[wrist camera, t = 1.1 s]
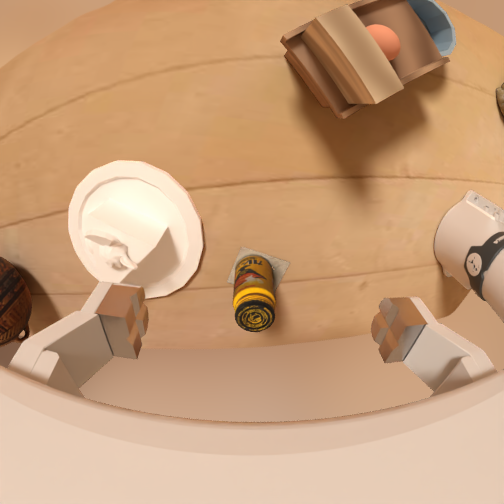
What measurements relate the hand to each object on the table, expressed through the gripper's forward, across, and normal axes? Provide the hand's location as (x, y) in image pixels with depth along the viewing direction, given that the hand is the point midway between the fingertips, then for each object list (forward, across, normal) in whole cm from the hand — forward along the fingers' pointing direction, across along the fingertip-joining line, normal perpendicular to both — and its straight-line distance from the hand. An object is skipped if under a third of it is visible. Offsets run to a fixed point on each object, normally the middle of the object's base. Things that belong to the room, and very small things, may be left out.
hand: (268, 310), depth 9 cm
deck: (+31, -12, -17) cm, 38 cm away
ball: (+20, -12, -16) cm, 28 cm away
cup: (+31, -22, -25) cm, 45 cm away
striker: (+22, -8, -13) cm, 27 cm away
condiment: (+32, -3, +19) cm, 37 cm away
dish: (+33, +18, +14) cm, 40 cm away
